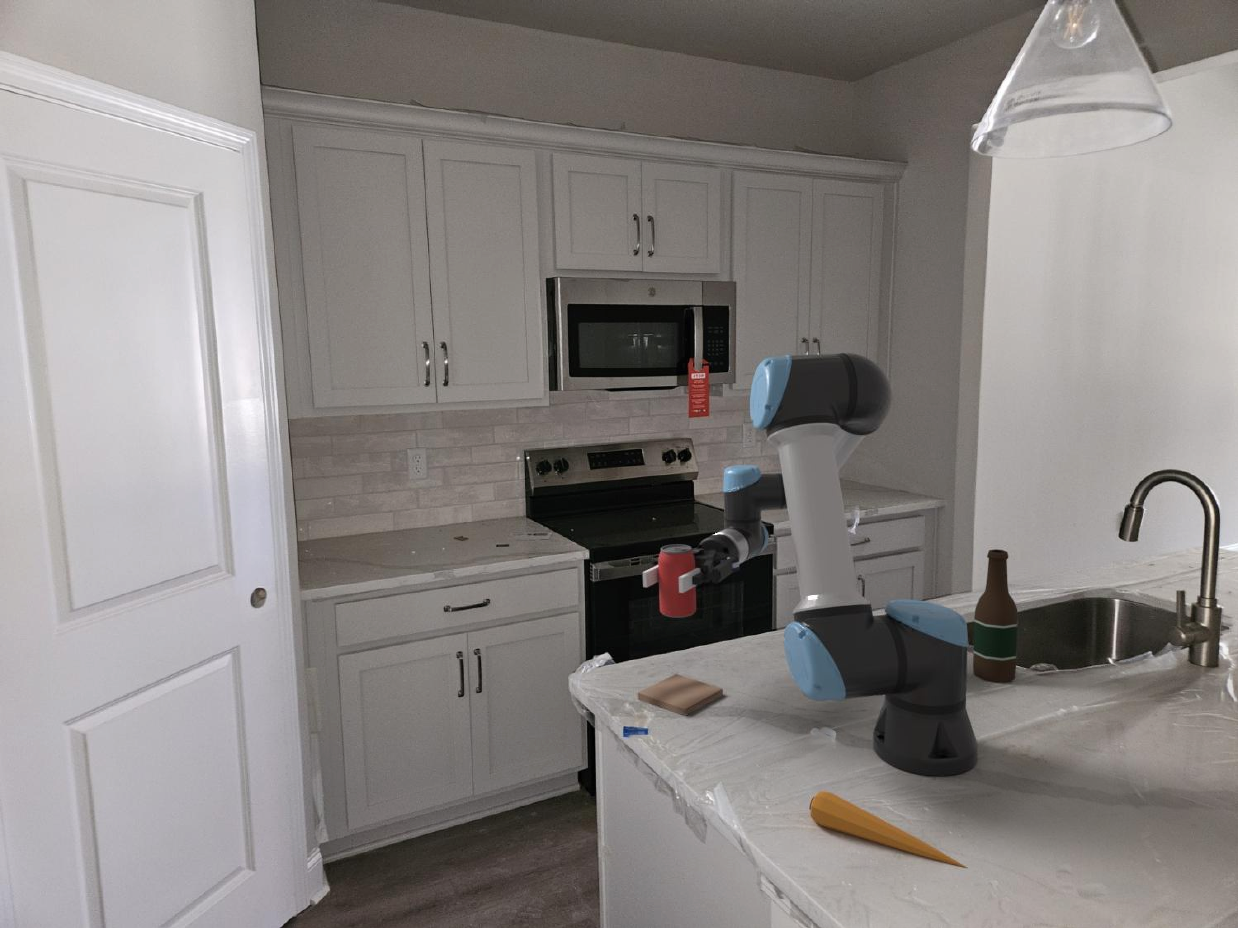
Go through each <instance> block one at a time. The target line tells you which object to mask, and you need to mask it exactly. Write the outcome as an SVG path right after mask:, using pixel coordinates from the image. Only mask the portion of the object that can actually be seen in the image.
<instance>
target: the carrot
mask: <svg viewBox="0 0 1238 928" xmlns="http://www.w3.org/2000/svg"><path fill="white" fill-rule="evenodd" d="M809 811H810V818H811V819H812V820H813V821H814V822H816V823H817V824H818V825H820V827H824V828H827V829H831V830H834V831H838V832H840V833H841V832H842V833H844V834H848V835H851V836H854V837H857V838H859V839H860V838H861V839H863V840H867V841H871V842H874V843H876V844H877V843H878V844H880V845H884V846H887V847H890V848H894V849H896V850H901V851H903V852H906V853H911V854H914V855H917V856H920V857H924V858H928V859H931V860H936V861H939V862H942V863H943V862H944V863H948V864H950V865H955V866H958V867H962V868H967V869H968V867H967V866H966V865H963V864H962V863H960V862H959V861H957V860H955V859H954V858H952V857H950V856H948V855H947V854H945V853H944V852H942V851H940V850H938V849H936V848H935V847H933V846H932V845H930V844H928V843H926V842H925V841H923V840H921V839H920V838H917V837H916V836H914V835H911V834H910V833H908V832H906V831H904V830H903V829H900V828H898V827H897V826H894V825H893V824H891V823H889V822H887V821H885V820H884V819H881V818H880V817H878V816H876V815H874V814H872V813H870V812H868V811H866V810H865V809H863V808H861V807H859V806H857V805H855V804H853V803H851V802H850V801H847V800H846V799H844V798H842V797H840V796H838V795H836V794H834V793H833V792H830V791H822V790H819V791H818V793H816V795H815V796H813V797H812V798H811V801H810V803H809Z"/></svg>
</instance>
